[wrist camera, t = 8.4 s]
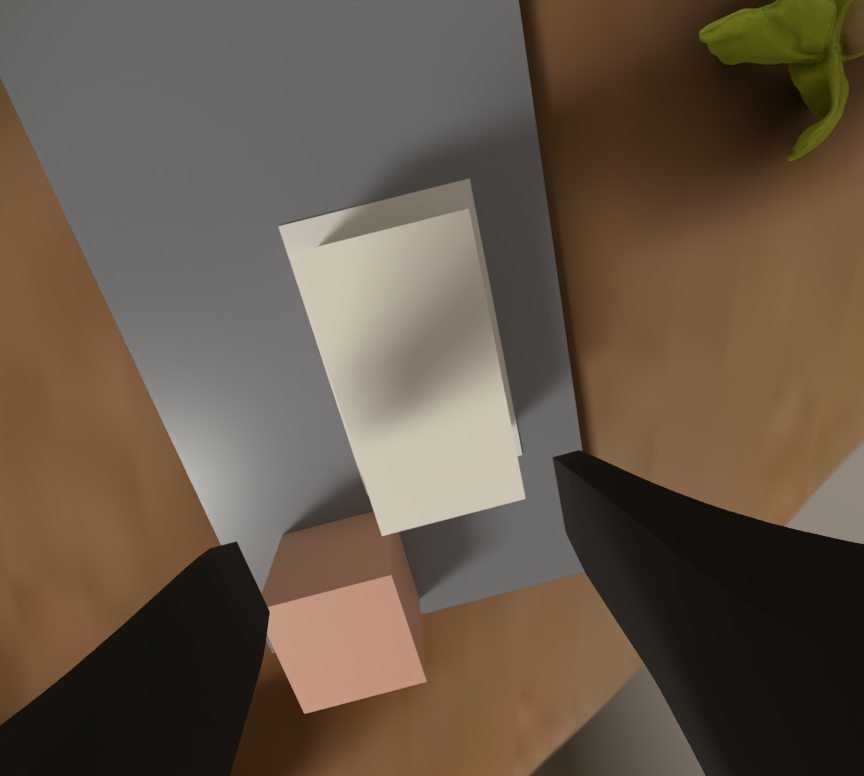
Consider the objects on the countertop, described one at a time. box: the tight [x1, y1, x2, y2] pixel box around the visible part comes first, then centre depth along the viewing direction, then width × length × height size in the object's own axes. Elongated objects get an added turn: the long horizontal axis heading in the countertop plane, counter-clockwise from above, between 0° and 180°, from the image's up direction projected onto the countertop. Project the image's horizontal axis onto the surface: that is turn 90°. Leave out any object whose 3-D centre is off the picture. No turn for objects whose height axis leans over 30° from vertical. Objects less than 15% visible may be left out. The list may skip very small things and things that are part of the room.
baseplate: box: [0, 0, 585, 653], centre depth 17 cm, size 16×30×1 cm, turn 13°
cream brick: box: [289, 209, 526, 536], centre depth 15 cm, size 5×9×4 cm, turn 13°
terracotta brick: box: [262, 511, 427, 714], centre depth 19 cm, size 5×5×4 cm
